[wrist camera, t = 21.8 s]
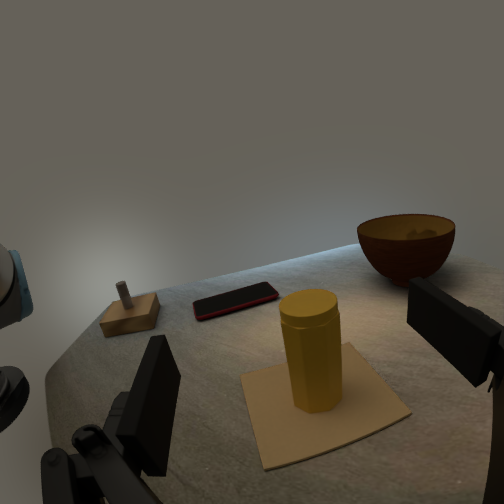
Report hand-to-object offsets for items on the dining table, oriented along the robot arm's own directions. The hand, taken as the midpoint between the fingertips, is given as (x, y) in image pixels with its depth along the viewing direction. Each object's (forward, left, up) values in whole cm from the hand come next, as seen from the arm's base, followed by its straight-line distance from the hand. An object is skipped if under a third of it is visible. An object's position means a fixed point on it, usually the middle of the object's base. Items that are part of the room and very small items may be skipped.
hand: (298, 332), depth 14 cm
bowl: (+28, +26, -15) cm, 41 cm away
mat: (+3, +8, -14) cm, 17 cm away
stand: (-22, +38, -14) cm, 46 cm away
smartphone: (-2, +36, -14) cm, 39 cm away
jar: (+3, +8, -14) cm, 17 cm away
